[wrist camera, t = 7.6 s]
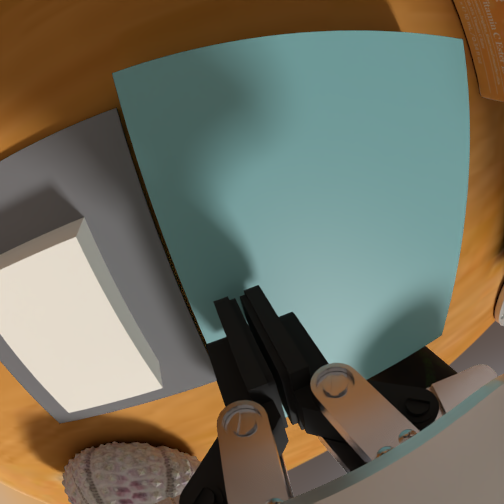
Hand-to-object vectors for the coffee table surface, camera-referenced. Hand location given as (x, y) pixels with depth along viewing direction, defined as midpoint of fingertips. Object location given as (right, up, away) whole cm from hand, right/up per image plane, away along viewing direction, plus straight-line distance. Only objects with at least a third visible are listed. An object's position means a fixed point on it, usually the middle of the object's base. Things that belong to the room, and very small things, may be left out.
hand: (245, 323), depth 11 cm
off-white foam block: (-8, -2, +1) cm, 8 cm away
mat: (-9, 0, +3) cm, 9 cm away
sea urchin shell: (-10, -16, +11) cm, 22 cm away
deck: (+4, +4, +5) cm, 7 cm away
